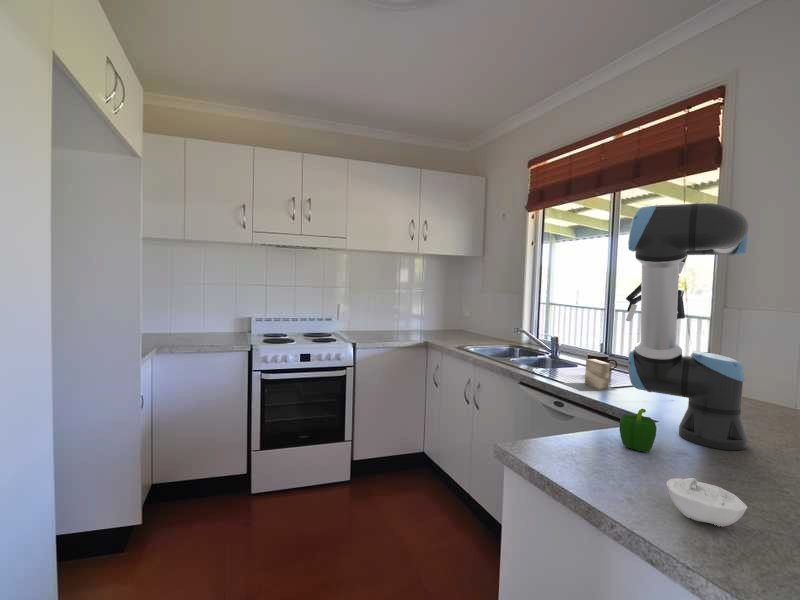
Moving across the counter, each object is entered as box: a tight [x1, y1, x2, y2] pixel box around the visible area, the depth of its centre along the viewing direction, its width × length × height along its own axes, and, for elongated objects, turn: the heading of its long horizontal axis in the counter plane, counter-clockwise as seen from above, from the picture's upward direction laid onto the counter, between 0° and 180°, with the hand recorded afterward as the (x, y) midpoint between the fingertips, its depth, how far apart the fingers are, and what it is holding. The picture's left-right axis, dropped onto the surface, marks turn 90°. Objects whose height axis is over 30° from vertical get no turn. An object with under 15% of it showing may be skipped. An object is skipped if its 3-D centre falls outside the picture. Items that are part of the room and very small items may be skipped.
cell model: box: [665, 477, 748, 528], centre depth 78 cm, size 10×12×7 cm
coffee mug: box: [586, 352, 618, 372], centre depth 191 cm, size 12×9×10 cm
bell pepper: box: [619, 408, 657, 453], centre depth 110 cm, size 8×8×10 cm
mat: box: [562, 382, 616, 392], centre depth 172 cm, size 16×12×1 cm
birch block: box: [584, 358, 611, 389], centre depth 173 cm, size 4×9×10 cm, turn 12°
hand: (645, 327), depth 159 cm, fingers open, 13 cm apart
